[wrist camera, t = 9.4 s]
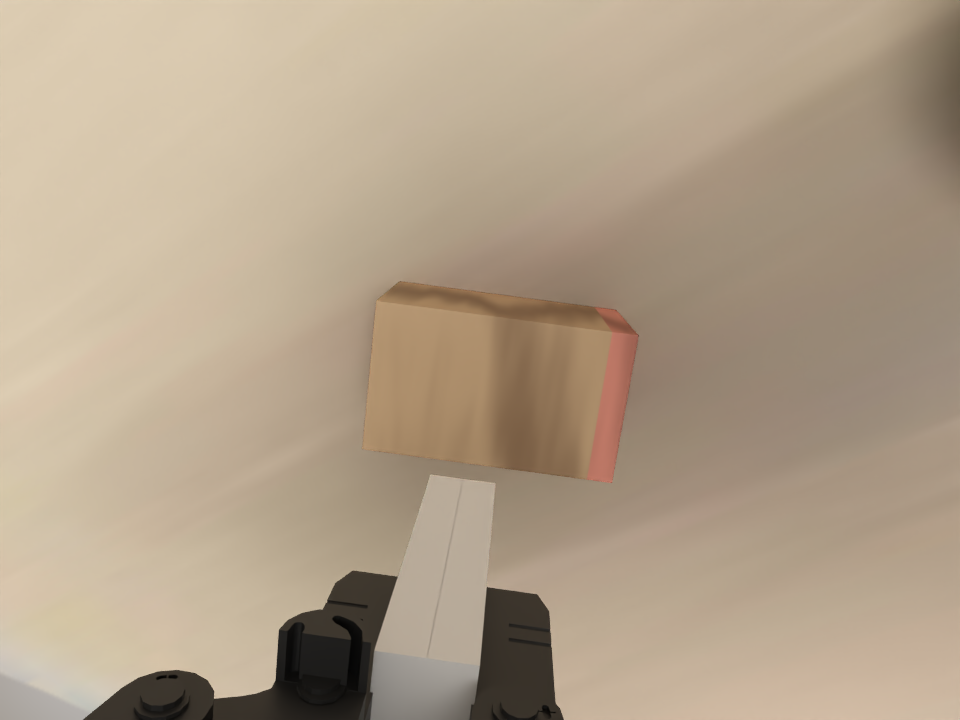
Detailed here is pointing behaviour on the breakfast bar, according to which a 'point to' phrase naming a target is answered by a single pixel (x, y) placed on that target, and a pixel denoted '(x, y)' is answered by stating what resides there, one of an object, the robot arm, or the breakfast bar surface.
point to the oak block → (498, 381)
